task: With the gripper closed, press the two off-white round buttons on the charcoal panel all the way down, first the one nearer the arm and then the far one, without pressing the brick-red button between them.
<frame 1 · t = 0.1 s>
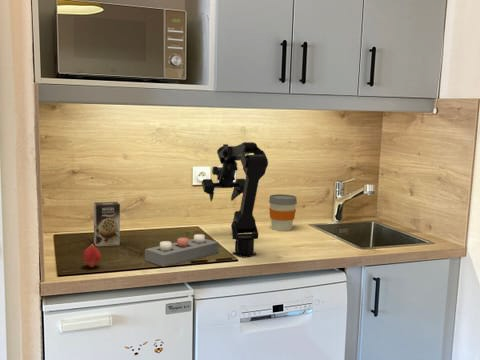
hand: (221, 200, 220), 15 cm above the countertop, tool tilted 35°, fingers open, 9 cm apart
button panel: (182, 256, 187), on the countertop
button pale left: (165, 246, 181), point 5 cm above the countertop, slide at 0.0 cm
onion: (91, 267, 171), on the countertop
button red middle: (183, 242, 187), point 5 cm above the countertop, slide at 0.0 cm
button pale right: (199, 239, 192), point 5 cm above the countertop, slide at 0.0 cm
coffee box: (106, 244, 201), on the countertop
reusable coffee cup: (281, 229, 236), on the countertop
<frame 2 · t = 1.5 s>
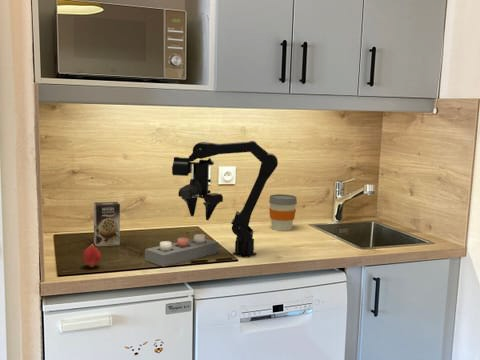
hand: (199, 218, 192), 13 cm above the countertop, tool pointing down, fingers open, 8 cm apart
nothing on the countertop moved.
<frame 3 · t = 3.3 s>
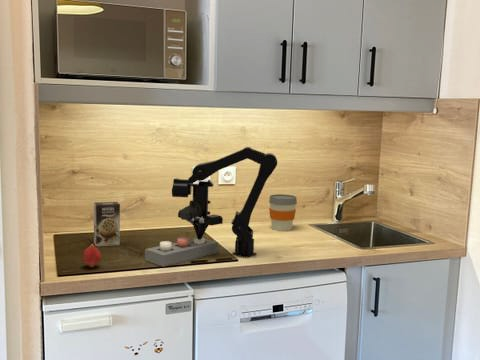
hand: (199, 239, 192), 5 cm above the countertop, tool pointing down, fingers closed, pressing on button pale right
button pale right: (199, 243, 193), point 4 cm above the countertop, slide at 1.5 cm, touching gripper
everything else where it was.
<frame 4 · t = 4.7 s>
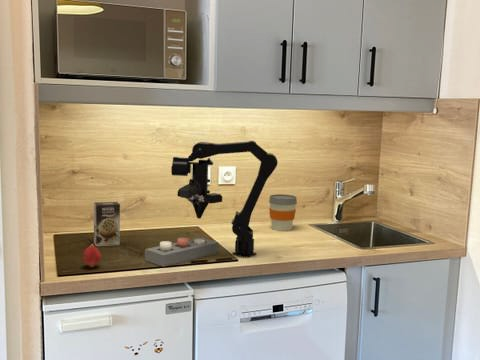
hand: (198, 218, 191), 13 cm above the countertop, tool pointing down, fingers closed
button pale right: (199, 244, 193), point 3 cm above the countertop, slide at 1.9 cm
everything else where it was.
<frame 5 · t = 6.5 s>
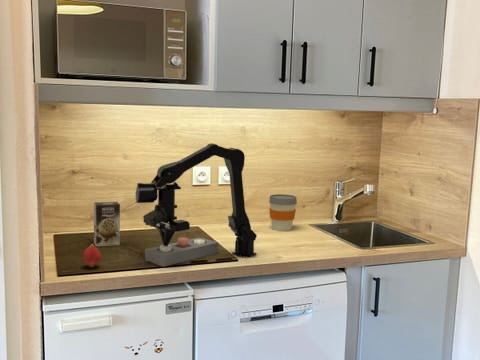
hand: (165, 246, 181), 5 cm above the countertop, tool pointing down, fingers closed, pressing on button pale left
button pale left: (165, 250, 181), point 4 cm above the countertop, slide at 1.2 cm, touching gripper
everything else where it was.
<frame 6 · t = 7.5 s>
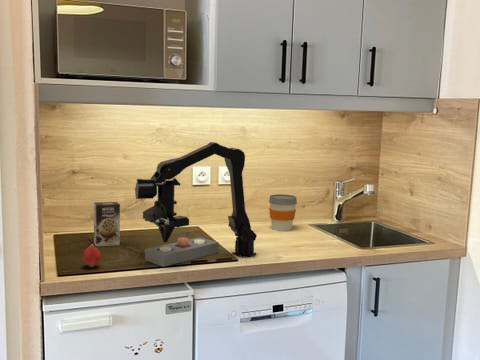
hand: (165, 242, 180), 7 cm above the countertop, tool pointing down, fingers closed
button pale left: (165, 252, 181), point 3 cm above the countertop, slide at 2.0 cm
everything else where it was.
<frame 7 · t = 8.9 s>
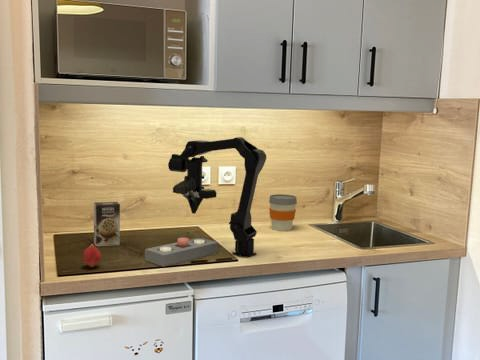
hand: (193, 213, 200), 13 cm above the countertop, tool pointing down, fingers closed
nothing on the countertop moved.
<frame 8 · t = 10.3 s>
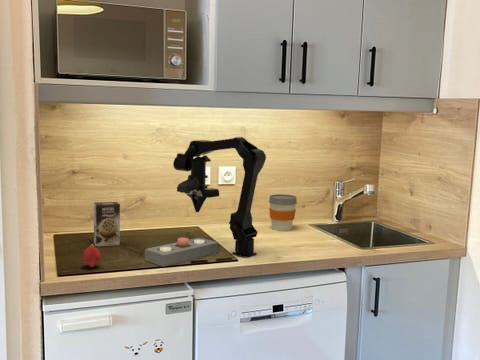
hand: (197, 212, 202), 13 cm above the countertop, tool pointing down, fingers closed
nothing on the countertop moved.
at the end: button pale right slide at 1.9 cm; button pale left slide at 2.0 cm; button red middle slide at 0.0 cm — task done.
